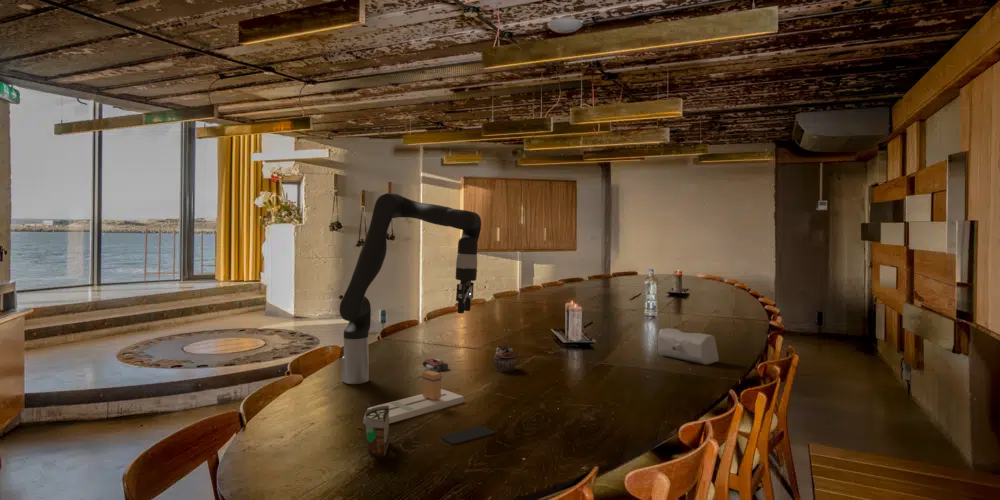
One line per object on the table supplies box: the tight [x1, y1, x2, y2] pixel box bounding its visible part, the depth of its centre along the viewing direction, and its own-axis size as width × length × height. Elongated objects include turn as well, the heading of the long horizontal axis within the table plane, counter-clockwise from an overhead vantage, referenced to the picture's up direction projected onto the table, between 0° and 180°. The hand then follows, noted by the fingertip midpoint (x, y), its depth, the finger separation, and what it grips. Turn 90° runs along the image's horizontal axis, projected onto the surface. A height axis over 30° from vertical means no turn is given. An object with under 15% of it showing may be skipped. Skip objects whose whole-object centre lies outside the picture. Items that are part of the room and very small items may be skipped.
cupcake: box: [493, 345, 517, 373], centre depth 231 cm, size 10×10×10 cm
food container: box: [362, 406, 390, 457], centre depth 148 cm, size 12×6×10 cm, turn 5°
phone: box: [440, 425, 496, 446], centre depth 158 cm, size 7×1×15 cm
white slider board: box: [366, 388, 465, 425], centre depth 182 cm, size 30×12×2 cm, turn 134°
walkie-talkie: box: [422, 357, 449, 373], centre depth 231 cm, size 9×4×20 cm
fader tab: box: [421, 370, 442, 400], centre depth 186 cm, size 3×6×8 cm, turn 44°
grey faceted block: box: [657, 327, 720, 366], centre depth 249 cm, size 25×16×12 cm, turn 39°
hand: (464, 312), depth 198 cm, fingers open, 8 cm apart
